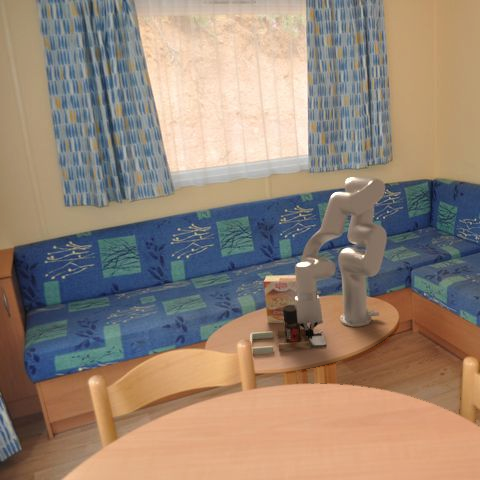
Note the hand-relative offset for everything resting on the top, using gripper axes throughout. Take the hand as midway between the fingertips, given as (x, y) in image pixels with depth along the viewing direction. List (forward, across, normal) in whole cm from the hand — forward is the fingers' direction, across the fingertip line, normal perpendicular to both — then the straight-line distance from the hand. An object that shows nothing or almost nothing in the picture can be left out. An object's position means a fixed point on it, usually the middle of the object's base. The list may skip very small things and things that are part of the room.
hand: (309, 337), depth 180 cm
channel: (+2, +6, 0) cm, 7 cm away
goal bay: (+2, +18, 0) cm, 18 cm away
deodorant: (+2, +6, 0) cm, 7 cm away
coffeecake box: (+2, +8, -21) cm, 23 cm away
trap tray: (+2, -3, 0) cm, 3 cm away
